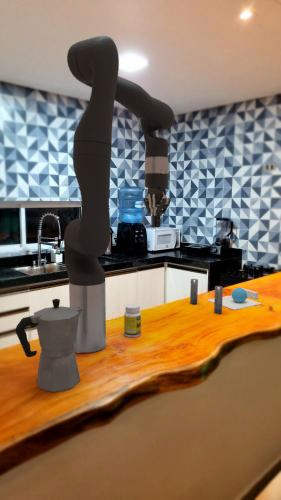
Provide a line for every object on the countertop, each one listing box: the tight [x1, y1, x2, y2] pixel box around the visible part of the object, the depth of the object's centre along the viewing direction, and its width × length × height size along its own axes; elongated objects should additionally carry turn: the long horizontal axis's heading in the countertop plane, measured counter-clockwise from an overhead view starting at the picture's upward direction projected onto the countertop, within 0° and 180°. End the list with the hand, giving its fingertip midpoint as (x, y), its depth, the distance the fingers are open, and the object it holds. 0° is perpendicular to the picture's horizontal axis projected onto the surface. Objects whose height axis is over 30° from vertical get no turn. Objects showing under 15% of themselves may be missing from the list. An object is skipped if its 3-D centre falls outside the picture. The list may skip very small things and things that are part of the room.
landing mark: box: [206, 294, 263, 311], centre depth 136 cm, size 14×14×1 cm
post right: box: [213, 285, 224, 315], centre depth 123 cm, size 3×3×9 cm
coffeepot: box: [15, 298, 84, 393], centre depth 76 cm, size 15×9×18 cm, turn 134°
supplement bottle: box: [123, 303, 142, 338], centre depth 104 cm, size 5×5×8 cm
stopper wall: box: [241, 287, 259, 300], centre depth 144 cm, size 2×9×2 cm, turn 32°
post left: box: [189, 278, 199, 306], centre depth 133 cm, size 3×3×9 cm
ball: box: [231, 287, 248, 303], centre depth 136 cm, size 6×6×6 cm
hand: (156, 227), depth 118 cm, fingers closed
